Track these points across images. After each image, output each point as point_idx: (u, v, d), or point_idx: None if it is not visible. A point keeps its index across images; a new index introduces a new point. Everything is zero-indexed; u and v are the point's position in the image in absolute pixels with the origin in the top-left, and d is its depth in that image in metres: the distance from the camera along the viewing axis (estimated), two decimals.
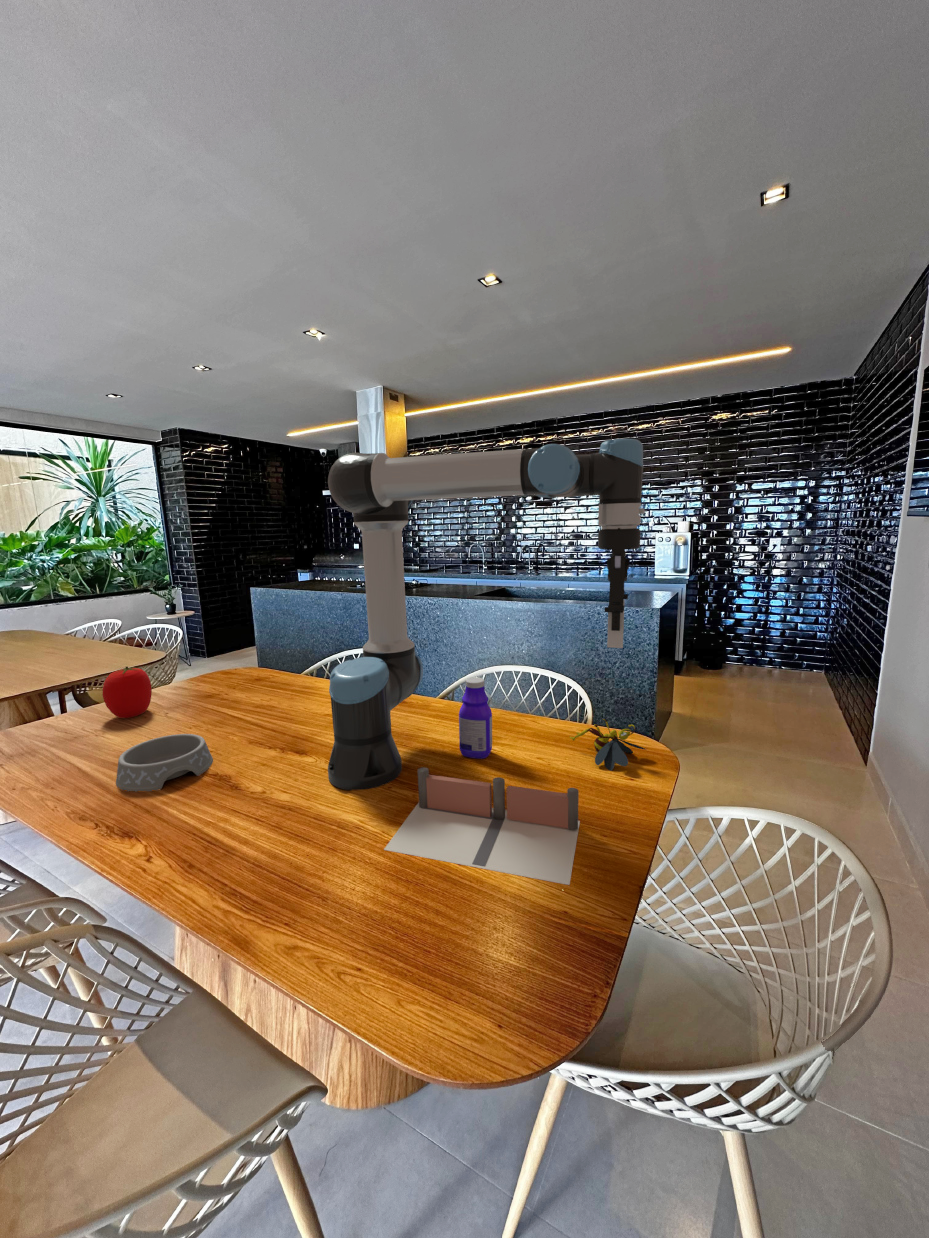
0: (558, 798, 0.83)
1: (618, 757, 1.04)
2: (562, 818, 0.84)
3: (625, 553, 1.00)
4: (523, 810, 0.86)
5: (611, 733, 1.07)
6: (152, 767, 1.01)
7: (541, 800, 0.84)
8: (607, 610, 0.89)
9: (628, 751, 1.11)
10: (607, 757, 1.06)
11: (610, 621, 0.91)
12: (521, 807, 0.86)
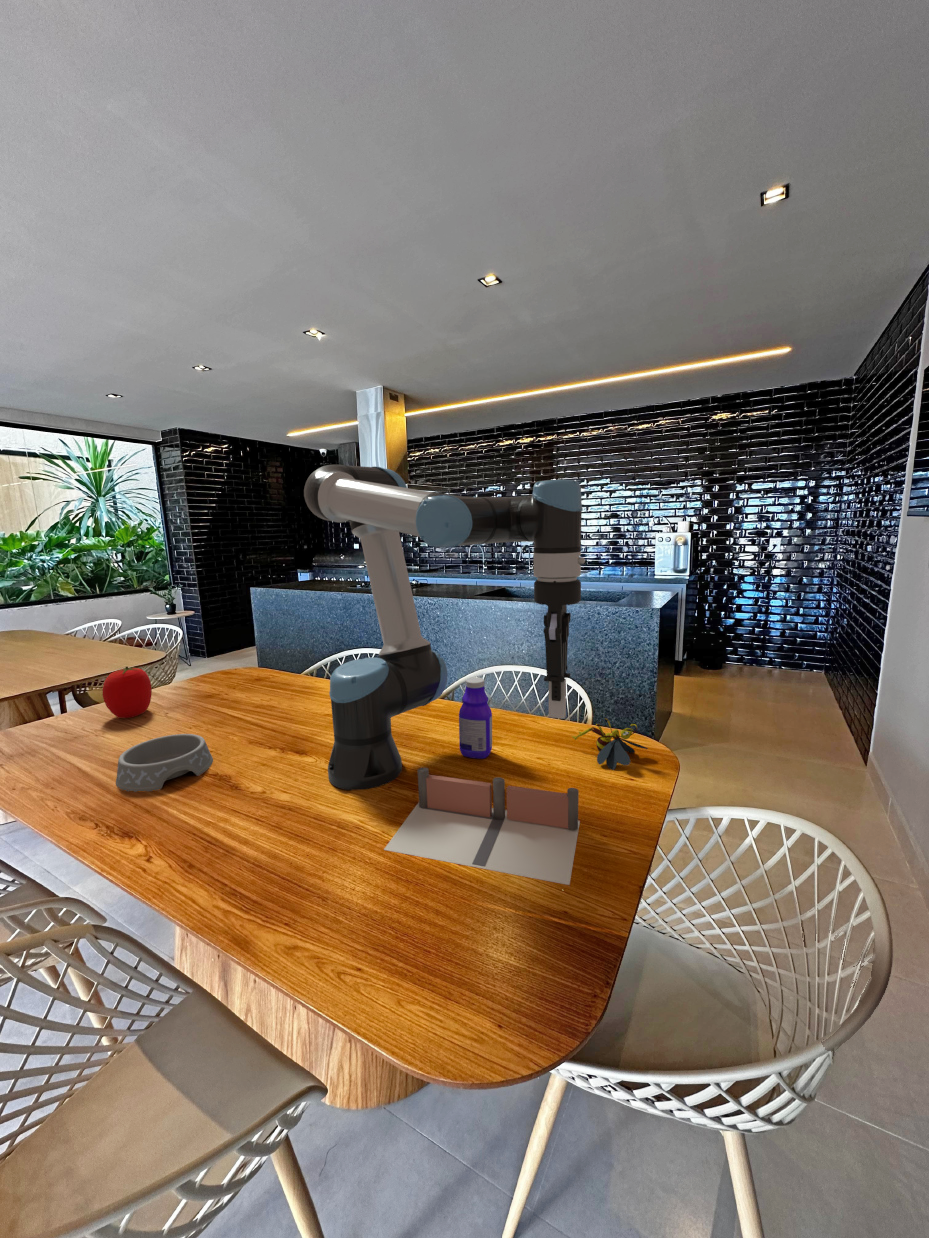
0: (558, 798, 0.83)
1: (620, 756, 1.04)
2: (562, 818, 0.84)
3: None
4: (523, 810, 0.86)
5: (613, 732, 1.07)
6: (152, 767, 1.01)
7: (541, 800, 0.84)
8: (547, 680, 0.84)
9: (630, 750, 1.11)
10: (609, 756, 1.06)
11: (551, 690, 0.85)
12: (521, 807, 0.86)
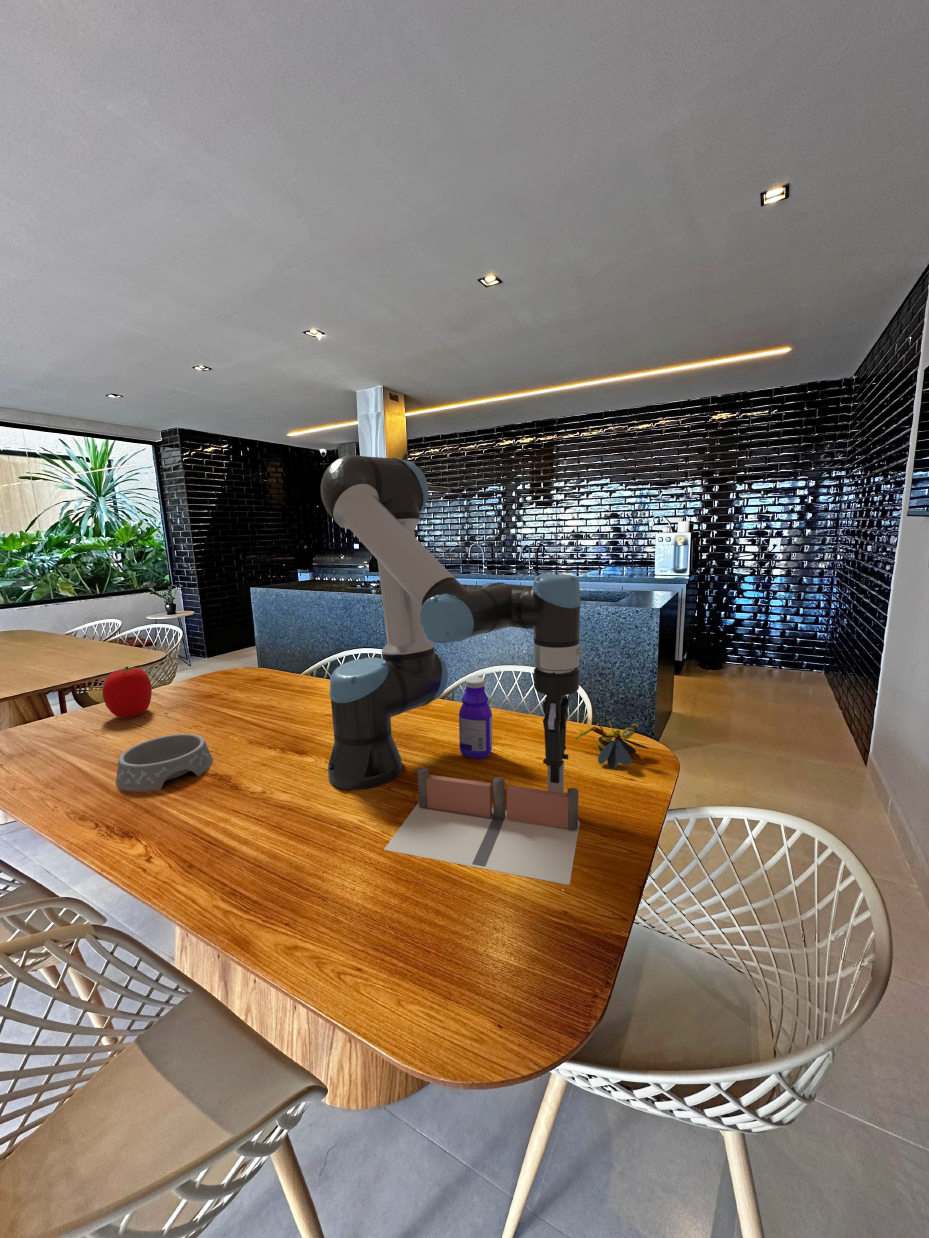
0: (558, 798, 0.83)
1: (621, 756, 1.04)
2: (562, 818, 0.84)
3: (567, 697, 0.91)
4: (523, 810, 0.86)
5: (614, 732, 1.08)
6: (152, 767, 1.01)
7: (541, 800, 0.84)
8: (546, 763, 0.87)
9: (631, 750, 1.11)
10: (611, 756, 1.07)
11: (550, 771, 0.88)
12: (521, 807, 0.86)
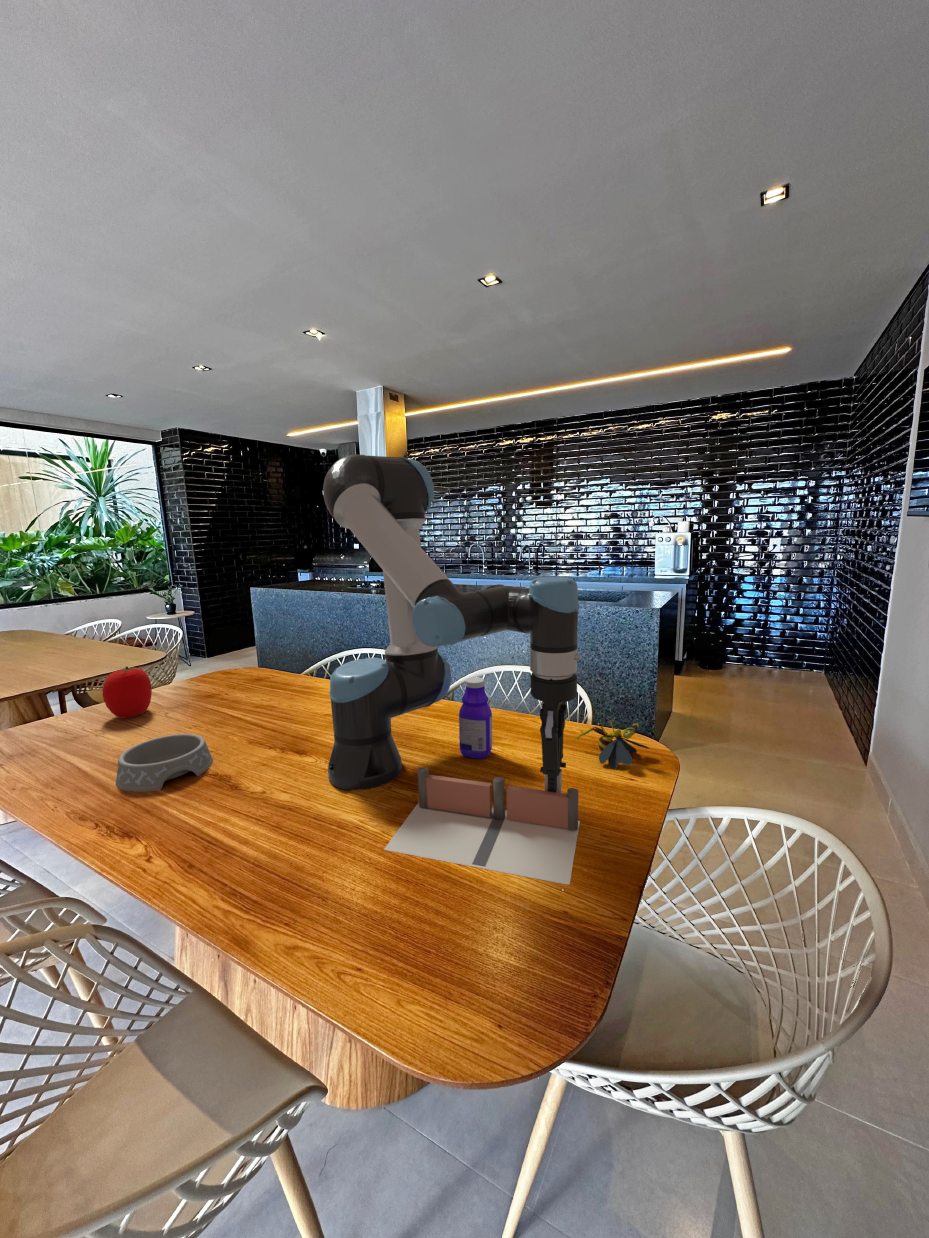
0: (558, 798, 0.83)
1: (622, 756, 1.04)
2: (562, 818, 0.84)
3: (564, 703, 0.88)
4: (523, 810, 0.86)
5: (615, 732, 1.08)
6: (152, 767, 1.01)
7: (541, 800, 0.84)
8: None
9: (632, 750, 1.11)
10: (611, 756, 1.07)
11: (547, 780, 0.86)
12: (521, 807, 0.86)
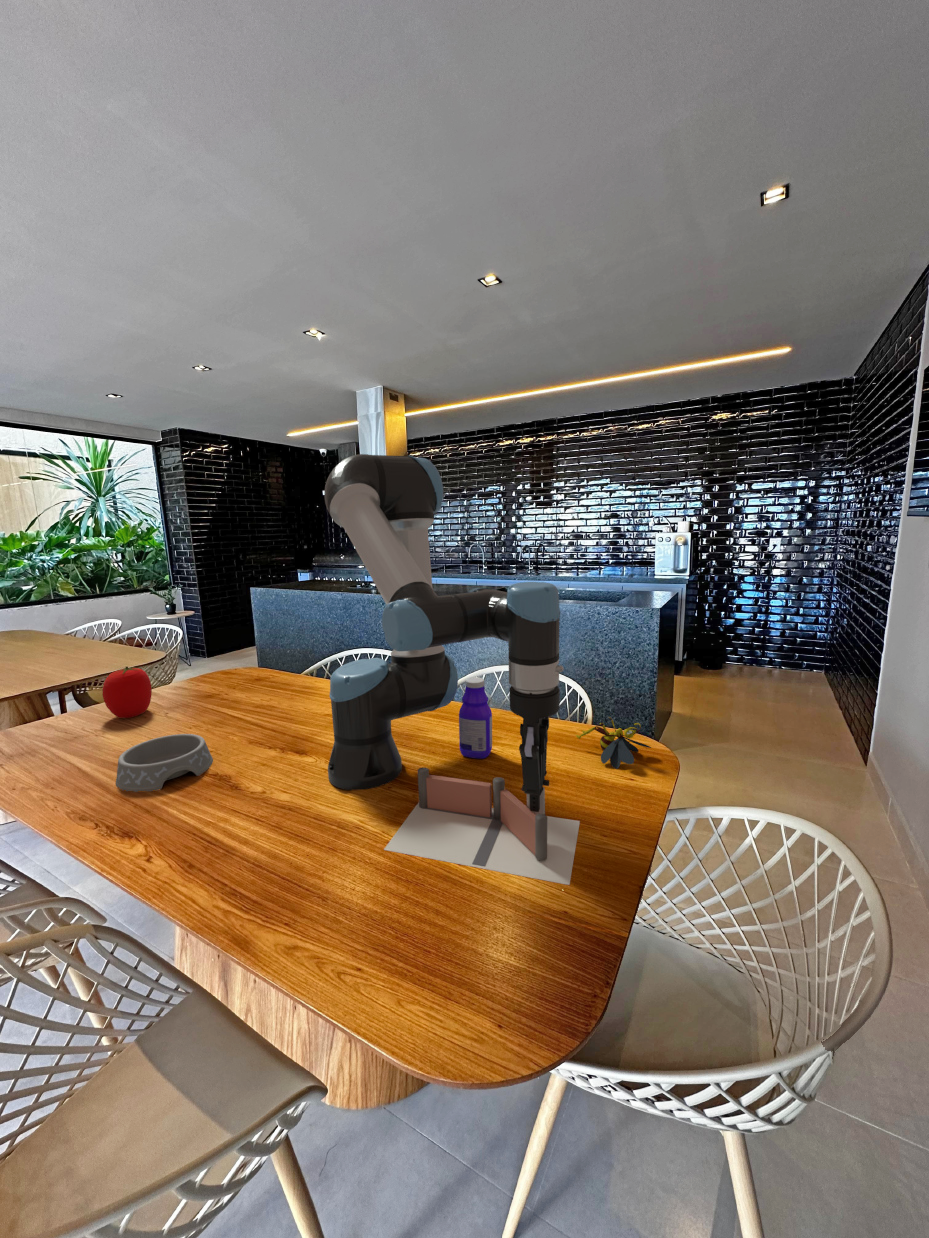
0: (529, 819, 0.78)
1: (624, 755, 1.05)
2: (532, 842, 0.78)
3: None
4: (509, 818, 0.83)
5: (617, 731, 1.08)
6: (152, 767, 1.01)
7: (519, 815, 0.80)
8: None
9: (634, 749, 1.12)
10: (613, 755, 1.07)
11: (529, 798, 0.80)
12: (508, 814, 0.84)
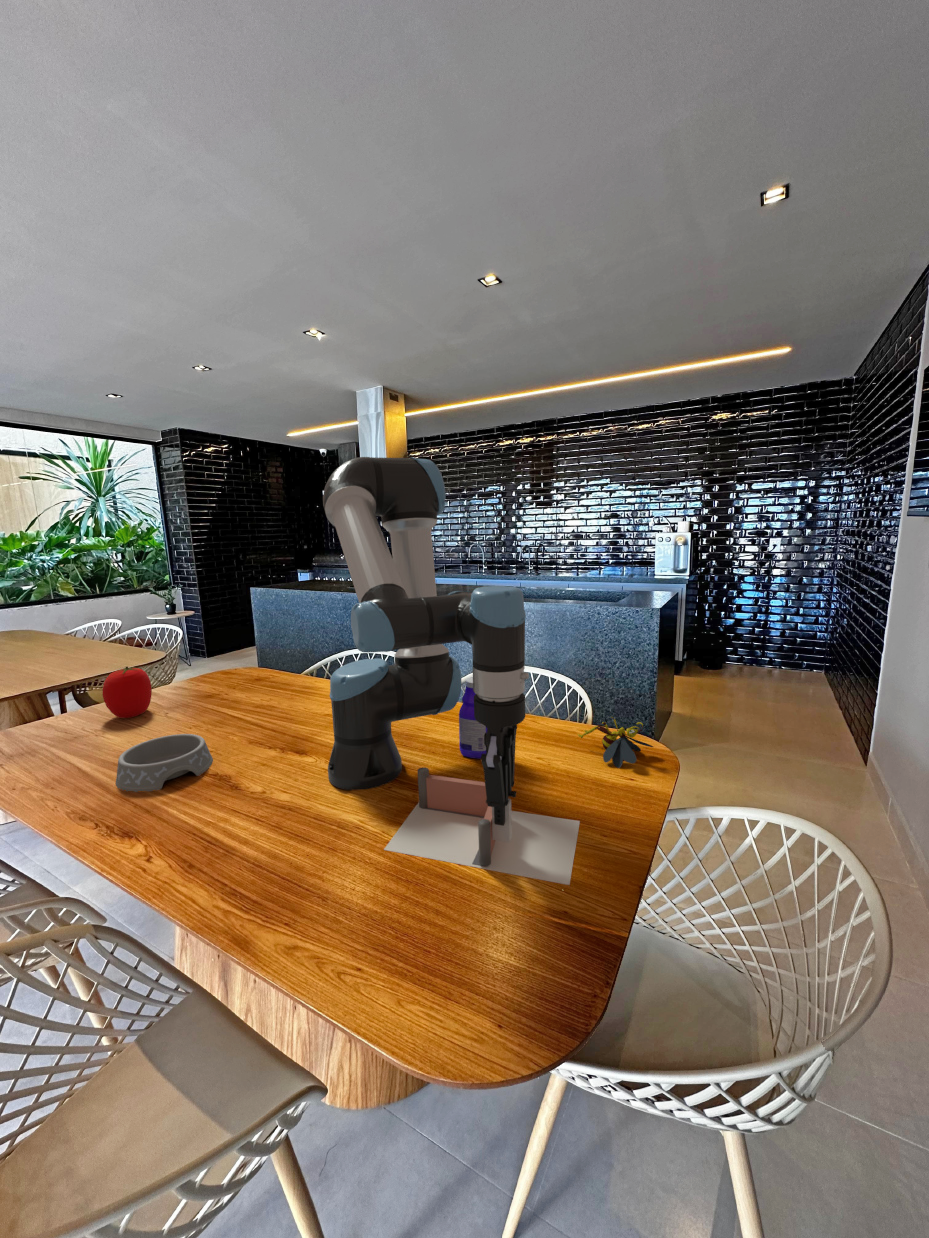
0: None
1: (626, 754, 1.05)
2: None
3: (516, 725, 0.80)
4: None
5: (619, 731, 1.08)
6: (152, 767, 1.01)
7: None
8: None
9: (636, 749, 1.12)
10: (616, 754, 1.07)
11: None
12: None
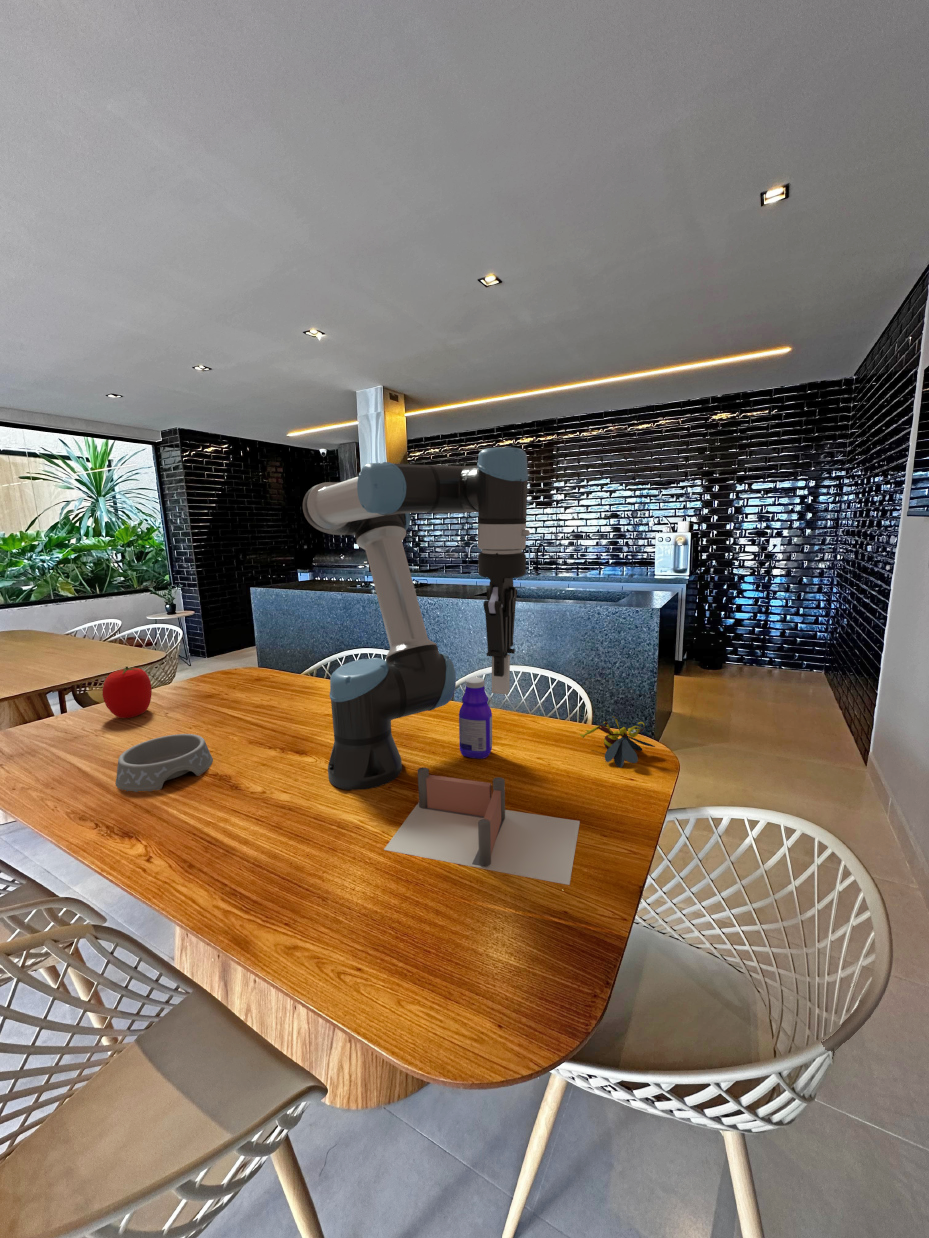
0: None
1: (628, 754, 1.05)
2: None
3: (516, 590, 0.86)
4: None
5: (621, 730, 1.08)
6: (152, 767, 1.01)
7: None
8: (489, 655, 0.83)
9: (637, 748, 1.12)
10: (617, 754, 1.07)
11: (494, 665, 0.84)
12: None
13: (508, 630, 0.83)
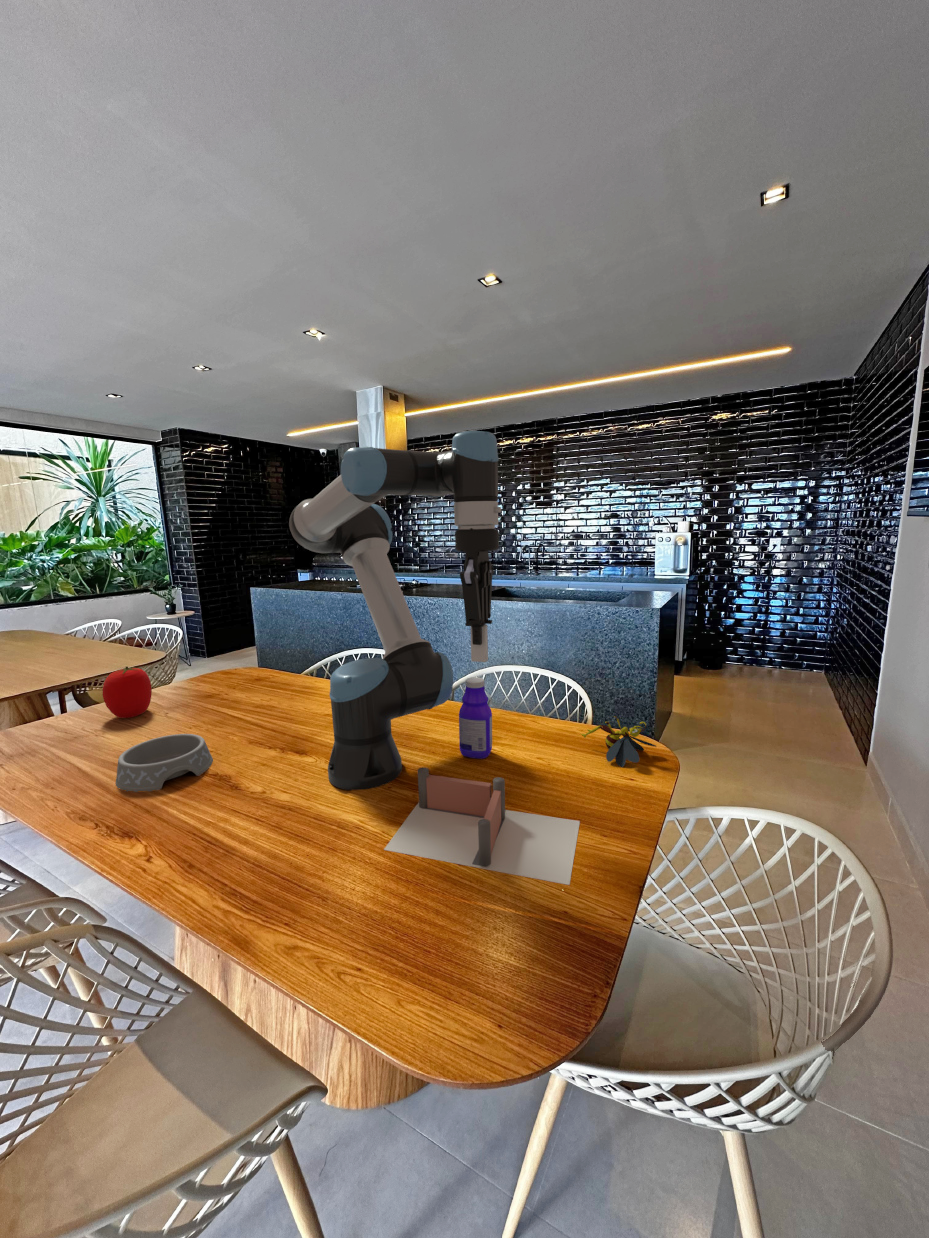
0: None
1: (629, 753, 1.05)
2: None
3: (492, 566, 0.93)
4: None
5: (622, 730, 1.08)
6: (152, 767, 1.01)
7: None
8: (468, 625, 0.89)
9: (639, 748, 1.12)
10: (619, 754, 1.07)
11: None
12: None
13: (485, 602, 0.90)
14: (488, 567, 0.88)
